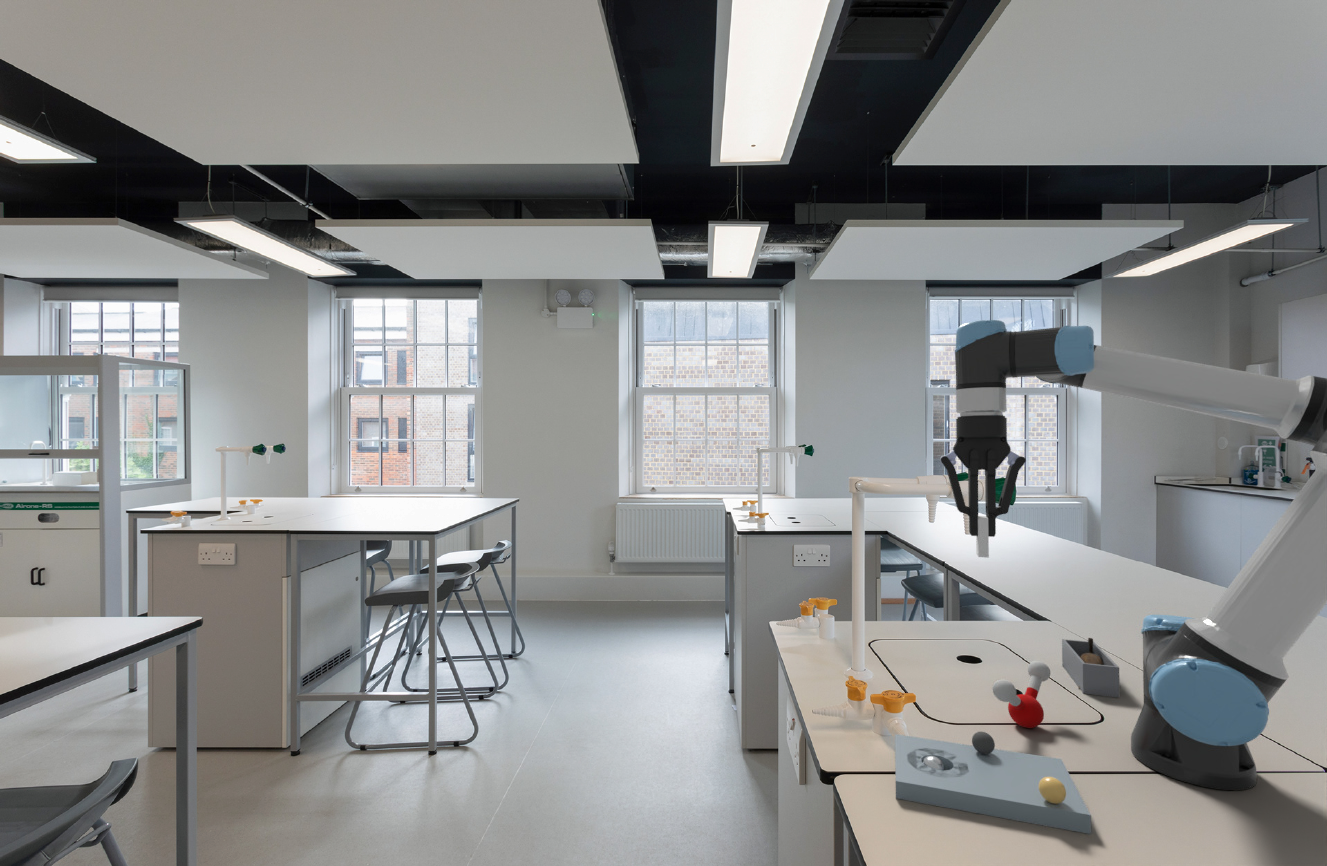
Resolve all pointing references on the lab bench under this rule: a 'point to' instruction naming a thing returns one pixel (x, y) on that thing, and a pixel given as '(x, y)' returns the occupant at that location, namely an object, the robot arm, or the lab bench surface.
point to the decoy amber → (1052, 790)
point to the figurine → (1091, 656)
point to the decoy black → (983, 742)
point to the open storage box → (1090, 669)
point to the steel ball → (933, 763)
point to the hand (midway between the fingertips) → (982, 555)
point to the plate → (987, 783)
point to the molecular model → (1024, 696)
